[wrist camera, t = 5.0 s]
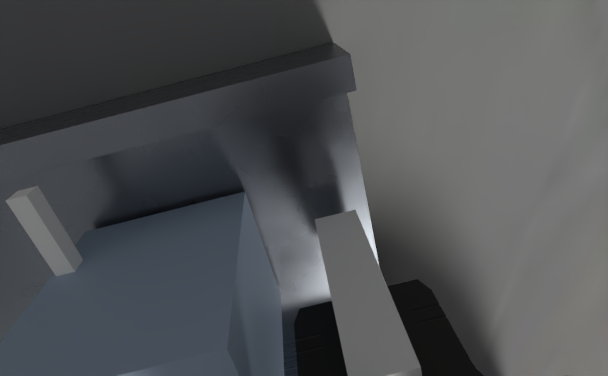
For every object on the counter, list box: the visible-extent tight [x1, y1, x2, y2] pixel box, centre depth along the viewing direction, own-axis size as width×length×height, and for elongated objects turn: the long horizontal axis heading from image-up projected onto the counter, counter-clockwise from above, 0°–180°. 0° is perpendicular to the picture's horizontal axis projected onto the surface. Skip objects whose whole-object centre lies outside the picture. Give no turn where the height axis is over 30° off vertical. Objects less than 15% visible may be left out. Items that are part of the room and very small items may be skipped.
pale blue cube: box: [0, 186, 284, 376], centre depth 12 cm, size 6×8×7 cm
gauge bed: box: [0, 42, 379, 376], centre depth 12 cm, size 22×13×9 cm, turn 103°
